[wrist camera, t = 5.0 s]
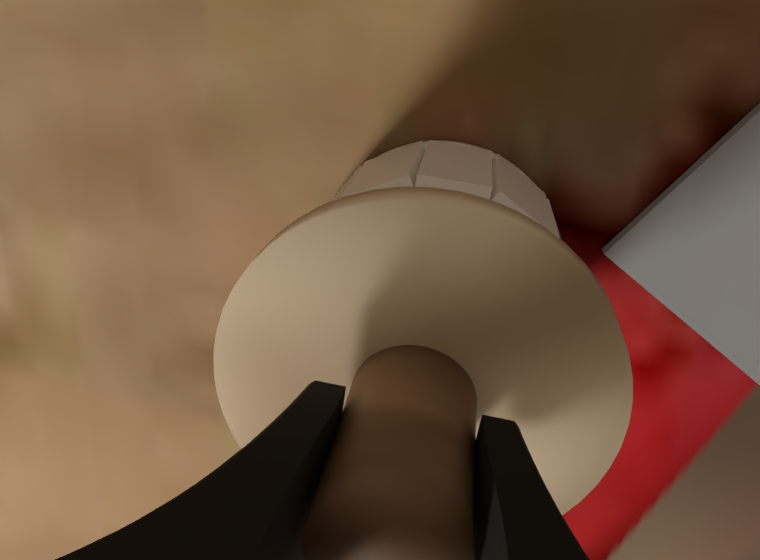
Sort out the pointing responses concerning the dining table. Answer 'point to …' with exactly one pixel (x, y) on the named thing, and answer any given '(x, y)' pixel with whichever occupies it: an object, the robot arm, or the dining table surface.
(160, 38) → the dining table surface
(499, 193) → the bowl
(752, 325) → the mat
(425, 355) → the lid
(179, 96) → the dining table surface
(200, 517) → the robot arm
